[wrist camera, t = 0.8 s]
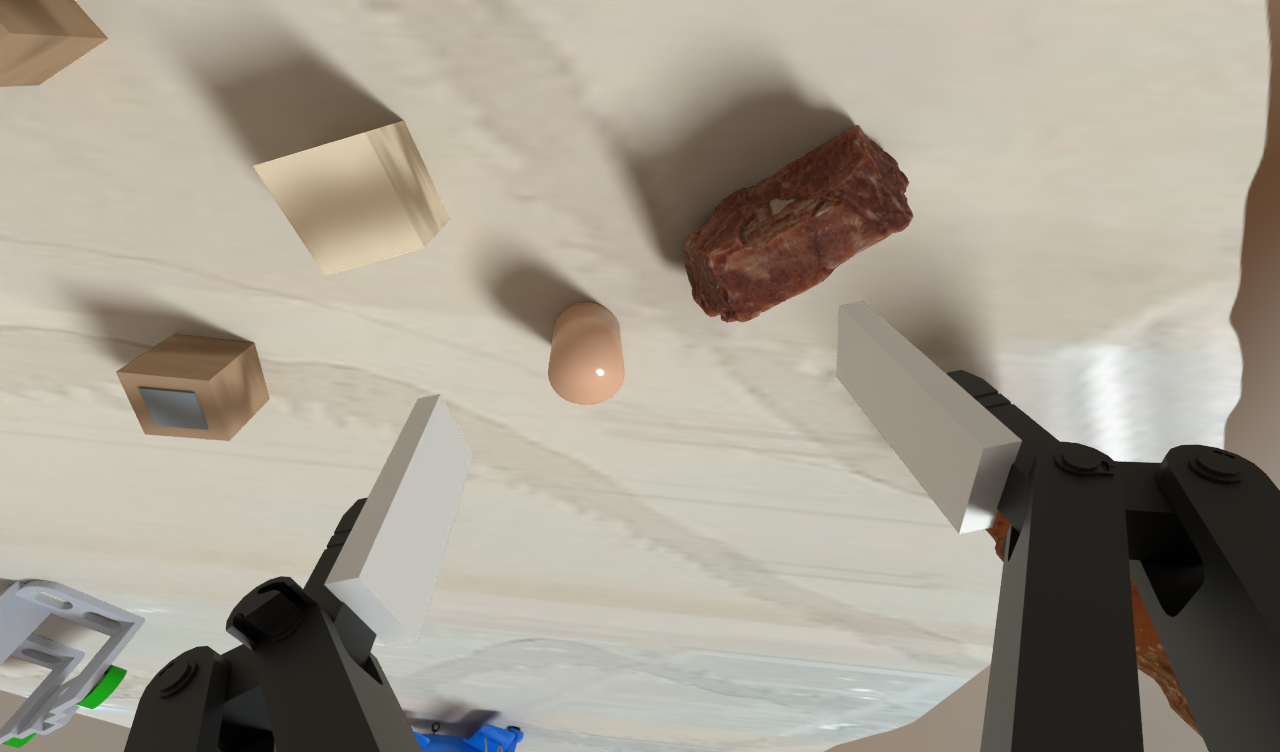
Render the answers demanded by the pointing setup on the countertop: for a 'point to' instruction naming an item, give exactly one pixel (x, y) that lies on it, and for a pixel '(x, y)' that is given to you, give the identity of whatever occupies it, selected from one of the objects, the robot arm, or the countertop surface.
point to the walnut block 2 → (195, 387)
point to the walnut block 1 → (42, 39)
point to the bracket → (59, 654)
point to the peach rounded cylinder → (586, 354)
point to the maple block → (358, 198)
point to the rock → (796, 227)
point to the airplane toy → (471, 740)
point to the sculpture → (1146, 639)
